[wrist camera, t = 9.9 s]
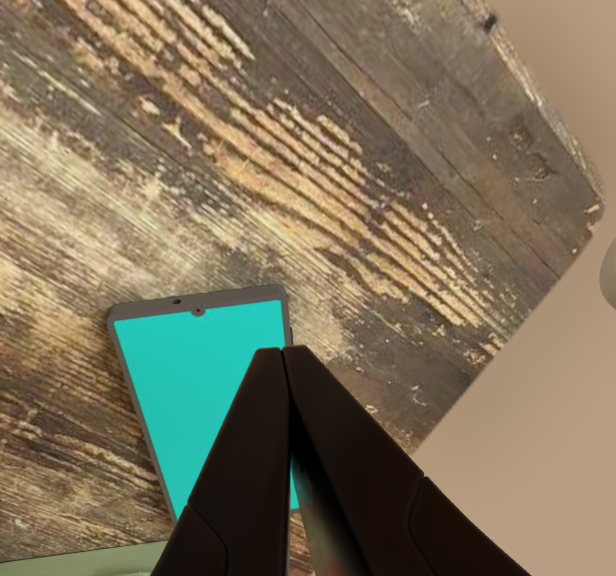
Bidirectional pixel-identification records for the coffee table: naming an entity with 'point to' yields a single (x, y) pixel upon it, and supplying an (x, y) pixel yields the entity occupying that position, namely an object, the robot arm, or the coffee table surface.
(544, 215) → the coffee table surface
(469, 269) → the coffee table surface
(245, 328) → the smartphone
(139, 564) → the button box
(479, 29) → the coffee table surface
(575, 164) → the coffee table surface
